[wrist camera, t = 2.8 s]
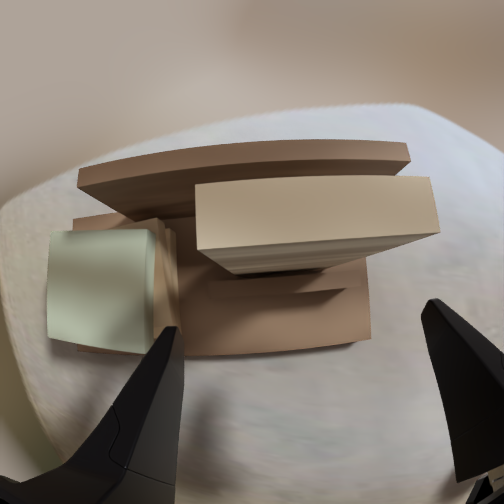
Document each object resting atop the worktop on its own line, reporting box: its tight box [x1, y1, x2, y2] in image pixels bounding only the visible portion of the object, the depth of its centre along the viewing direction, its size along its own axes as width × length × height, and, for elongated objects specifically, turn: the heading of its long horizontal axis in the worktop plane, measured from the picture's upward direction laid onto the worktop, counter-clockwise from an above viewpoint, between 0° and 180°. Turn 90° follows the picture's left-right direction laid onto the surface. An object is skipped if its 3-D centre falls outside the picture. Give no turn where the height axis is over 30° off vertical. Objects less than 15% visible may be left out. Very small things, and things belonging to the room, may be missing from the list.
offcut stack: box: [47, 218, 182, 354], centre depth 17 cm, size 8×8×4 cm
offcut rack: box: [73, 139, 411, 356], centre depth 16 cm, size 10×22×10 cm, turn 94°
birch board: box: [195, 175, 440, 276], centre depth 13 cm, size 2×6×13 cm, turn 94°
